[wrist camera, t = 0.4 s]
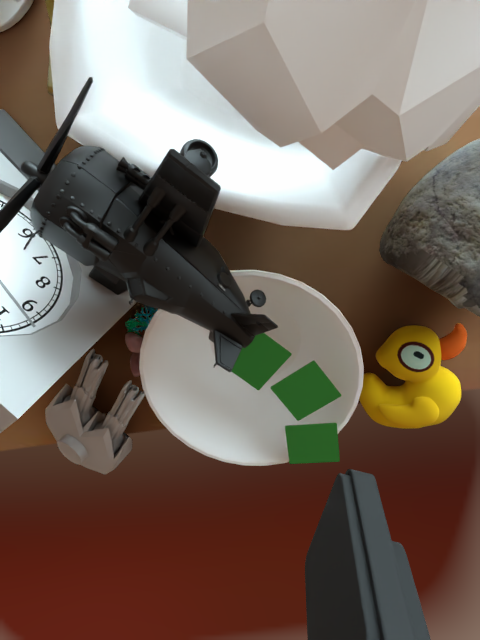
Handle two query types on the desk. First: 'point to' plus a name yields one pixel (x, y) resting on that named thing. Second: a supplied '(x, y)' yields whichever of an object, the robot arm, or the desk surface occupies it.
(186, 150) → the airplane toy
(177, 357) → the bowl
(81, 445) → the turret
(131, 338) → the anatomy model
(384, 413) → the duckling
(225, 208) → the bowl
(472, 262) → the stone
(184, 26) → the corner connector
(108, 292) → the alarm clock
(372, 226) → the desk surface
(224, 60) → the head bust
